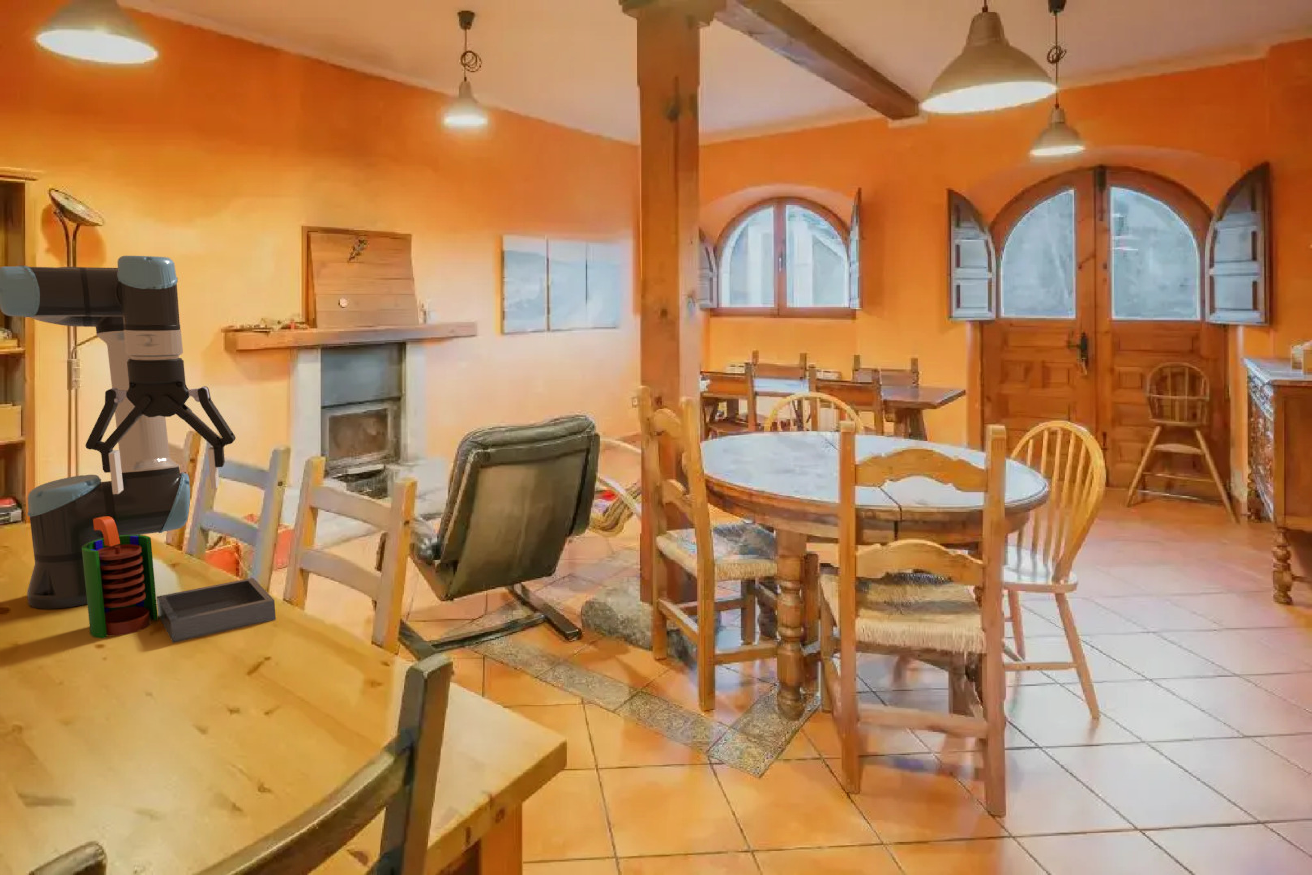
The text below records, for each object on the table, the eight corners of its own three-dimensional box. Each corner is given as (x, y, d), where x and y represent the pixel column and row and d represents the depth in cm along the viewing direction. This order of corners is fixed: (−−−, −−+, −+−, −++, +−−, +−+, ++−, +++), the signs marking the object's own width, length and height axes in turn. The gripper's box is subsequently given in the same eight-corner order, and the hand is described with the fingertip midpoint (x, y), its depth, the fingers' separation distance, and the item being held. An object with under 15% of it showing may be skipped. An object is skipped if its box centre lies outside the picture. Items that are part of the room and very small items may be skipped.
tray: (158, 615, 147) (156, 596, 146) (254, 595, 157) (253, 577, 156) (172, 642, 135) (170, 621, 134) (275, 619, 145) (274, 599, 145)
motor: (119, 640, 136) (106, 528, 133) (75, 635, 138) (62, 525, 134) (166, 618, 146) (155, 513, 142) (125, 614, 147) (113, 510, 144)
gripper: (50, 360, 115) (67, 500, 119) (240, 358, 124) (250, 490, 128) (68, 355, 122) (83, 488, 126) (247, 354, 131) (256, 479, 134)
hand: (167, 489), depth 127 cm, fingers open, 13 cm apart
